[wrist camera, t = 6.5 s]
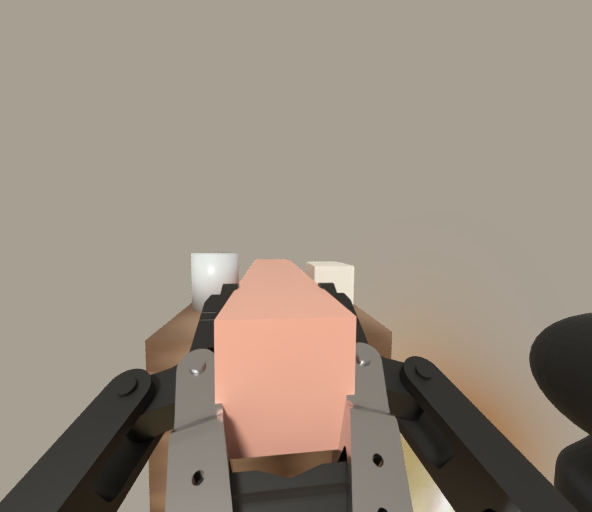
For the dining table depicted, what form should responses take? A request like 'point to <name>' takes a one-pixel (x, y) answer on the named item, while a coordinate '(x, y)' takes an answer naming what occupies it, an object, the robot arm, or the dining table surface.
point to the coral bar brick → (283, 363)
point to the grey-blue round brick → (212, 275)
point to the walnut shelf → (166, 354)
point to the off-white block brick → (333, 275)
